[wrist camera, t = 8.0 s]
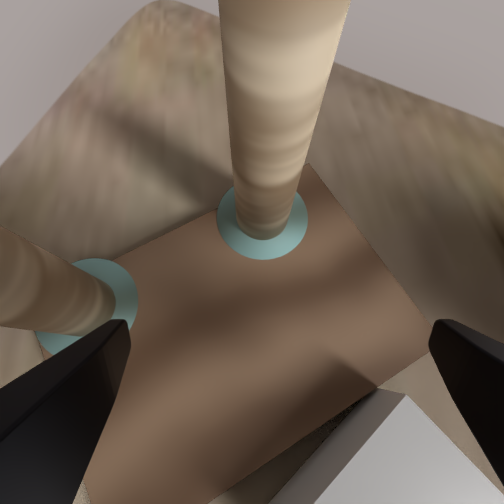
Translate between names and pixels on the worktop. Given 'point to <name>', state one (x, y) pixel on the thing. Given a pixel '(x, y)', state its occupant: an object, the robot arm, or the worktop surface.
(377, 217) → the worktop surface
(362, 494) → the cover
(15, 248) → the pin
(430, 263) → the worktop surface
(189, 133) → the worktop surface
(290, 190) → the pin loose
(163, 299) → the board
